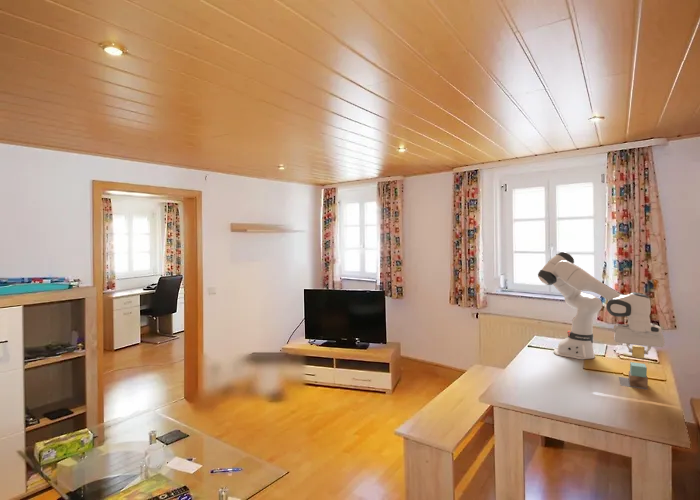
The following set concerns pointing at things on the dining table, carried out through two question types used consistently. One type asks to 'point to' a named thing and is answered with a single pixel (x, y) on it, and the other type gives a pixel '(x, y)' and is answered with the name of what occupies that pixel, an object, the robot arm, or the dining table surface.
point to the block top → (638, 369)
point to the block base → (638, 381)
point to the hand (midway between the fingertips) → (638, 353)
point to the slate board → (626, 383)
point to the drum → (638, 351)
